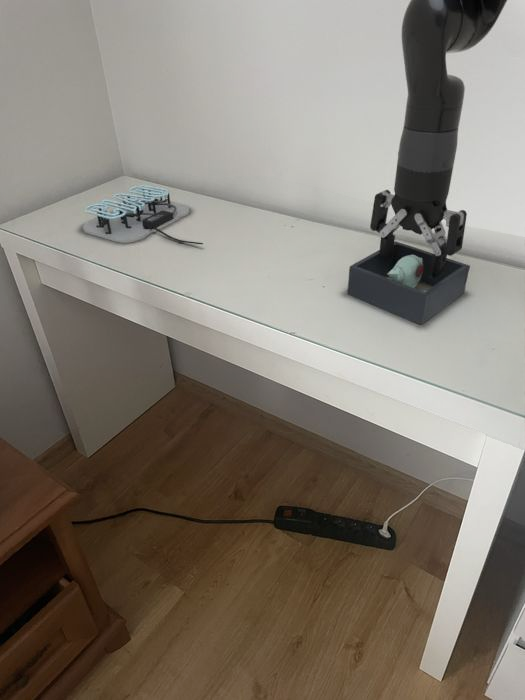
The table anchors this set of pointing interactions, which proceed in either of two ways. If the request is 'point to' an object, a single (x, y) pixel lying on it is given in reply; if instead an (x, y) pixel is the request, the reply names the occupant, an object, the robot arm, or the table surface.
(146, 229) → the neon sign
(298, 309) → the table surface
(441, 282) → the bin
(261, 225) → the table surface
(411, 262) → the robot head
